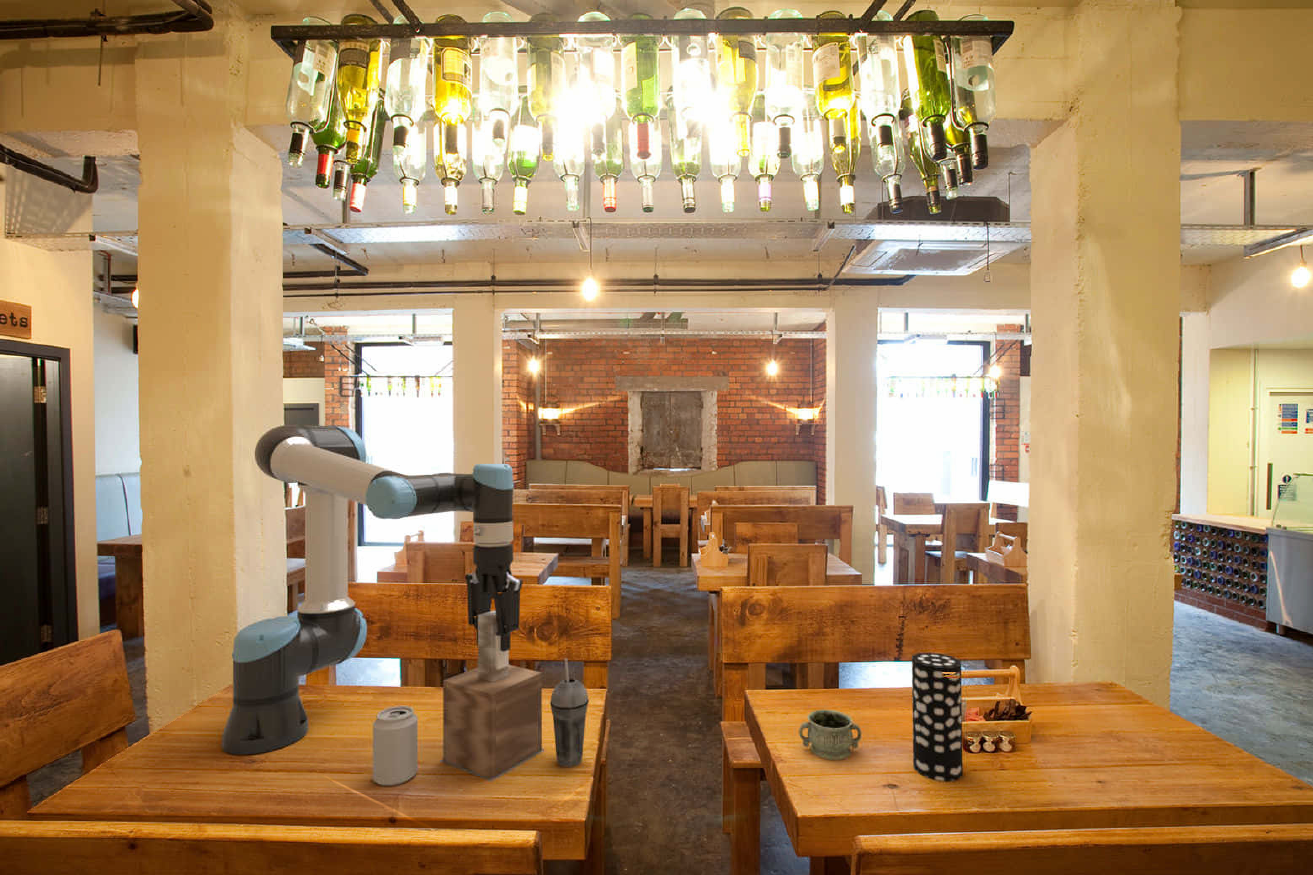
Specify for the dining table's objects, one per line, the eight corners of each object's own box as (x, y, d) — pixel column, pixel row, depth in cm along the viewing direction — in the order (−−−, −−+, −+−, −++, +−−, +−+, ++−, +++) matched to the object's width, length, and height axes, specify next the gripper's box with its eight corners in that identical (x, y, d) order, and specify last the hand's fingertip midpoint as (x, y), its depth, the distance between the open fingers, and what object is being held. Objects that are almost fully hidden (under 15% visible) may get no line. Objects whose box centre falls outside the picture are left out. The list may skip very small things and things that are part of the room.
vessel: (856, 741, 129) (856, 709, 129) (867, 762, 120) (866, 729, 120) (796, 739, 130) (795, 708, 130) (802, 760, 121) (802, 727, 121)
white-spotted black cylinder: (959, 762, 120) (958, 655, 120) (965, 784, 112) (963, 669, 112) (912, 755, 122) (910, 650, 123) (914, 776, 115) (913, 664, 115)
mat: (439, 762, 121) (439, 760, 121) (494, 734, 132) (494, 732, 132) (491, 783, 113) (491, 780, 113) (545, 751, 125) (545, 749, 125)
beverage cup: (596, 758, 122) (595, 653, 122) (575, 776, 115) (575, 664, 116) (564, 750, 125) (563, 648, 125) (542, 767, 118) (542, 659, 119)
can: (424, 769, 118) (425, 703, 118) (404, 790, 111) (405, 720, 111) (386, 767, 119) (386, 702, 119) (363, 788, 112) (364, 719, 112)
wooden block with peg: (443, 760, 121) (443, 616, 121) (494, 734, 132) (494, 602, 132) (491, 778, 114) (491, 626, 114) (541, 749, 125) (541, 611, 125)
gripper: (448, 542, 125) (448, 662, 124) (510, 549, 116) (510, 679, 115) (477, 538, 131) (477, 652, 131) (539, 544, 122) (539, 667, 122)
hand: (493, 664), depth 123 cm, fingers closed on wooden block with peg, 4 cm apart
